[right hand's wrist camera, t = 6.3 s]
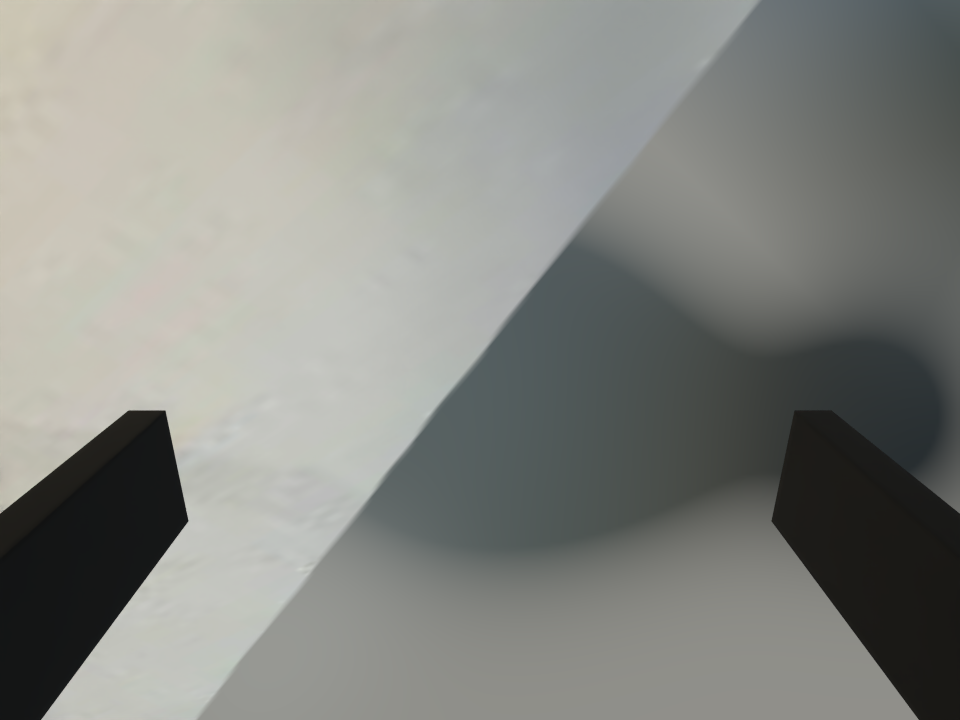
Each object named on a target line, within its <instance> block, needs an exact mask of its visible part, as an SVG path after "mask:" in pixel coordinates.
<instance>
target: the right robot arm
mask: <svg viewBox="0 0 960 720" xmlns="http://www.w3.org/2000/svg"><path fill="white" fill-rule="evenodd" d="M187 522H188V517H187V512H186V507H185V502H184V498H183V493H182V488H181V483H180V478H179V474H178V469H177V464H176V459H175V454H174V450H173V445H172V440H171V435H170V430H169V426H168V421H167V416H166V411H127V412H126V413H125V414H124V415H122V416H121V417H120V418H119V419H118V420H116V421H115V422H114V423H113V424H111V425H110V426H109V427H108V428H106V429H105V430H104V431H103V432H101V433H100V434H99V435H98V436H96V437H95V438H94V439H93V440H91V441H90V442H89V443H88V444H86V445H85V446H84V447H83V448H81V449H80V450H79V451H78V452H76V453H75V454H74V455H73V456H71V457H70V458H69V459H68V460H66V461H65V462H64V463H63V464H62V465H60V466H59V467H58V468H57V469H55V470H54V471H53V472H52V473H50V474H49V475H48V476H47V477H45V478H44V479H43V480H42V481H40V482H39V483H38V484H37V485H35V486H34V487H33V488H32V489H30V490H29V491H28V492H27V493H25V494H24V495H23V496H22V497H20V498H19V499H18V500H17V501H15V502H14V503H13V504H12V505H10V506H9V507H8V508H7V509H5V510H4V511H3V512H2V513H1V514H0V720H41V719H42V718H43V716H44V715H45V714H46V712H47V711H48V710H49V708H50V707H51V706H52V704H53V703H54V702H55V700H56V699H57V698H58V696H59V695H60V694H61V692H62V691H63V689H64V688H65V687H66V685H67V684H68V683H69V681H70V680H71V679H72V677H73V676H74V675H75V673H76V672H77V671H78V669H79V668H80V667H81V665H82V664H83V663H84V661H85V660H86V658H87V657H88V656H89V654H90V653H91V652H92V650H93V649H94V648H95V646H96V645H97V644H98V642H99V641H100V640H101V638H102V637H103V636H104V634H105V633H106V632H107V630H108V629H109V627H110V626H111V625H112V623H113V622H114V621H115V619H116V618H117V617H118V615H119V614H120V613H121V611H122V610H123V609H124V607H125V606H126V605H127V603H128V602H129V601H130V599H131V598H132V597H133V595H134V594H135V592H136V591H137V590H138V588H139V587H140V586H141V584H142V583H143V582H144V580H145V579H146V578H147V576H148V575H149V574H150V572H151V571H152V570H153V568H154V567H155V566H156V564H157V563H158V561H159V560H160V559H161V557H162V556H163V555H164V553H165V552H166V551H167V549H168V548H169V547H170V545H171V544H172V543H173V541H174V540H175V539H176V537H177V536H178V535H179V533H180V532H181V530H182V529H183V528H184V526H185V525H186V524H187ZM772 522H773V524H774V525H775V526H776V528H777V529H778V530H779V532H780V533H781V534H782V536H783V537H784V538H785V540H786V541H787V543H788V544H789V545H790V547H791V548H792V549H793V551H794V552H795V553H796V555H797V556H798V557H799V559H800V560H801V561H802V563H803V564H804V566H805V567H806V568H807V570H808V571H809V572H810V574H811V575H812V576H813V578H814V579H815V580H816V582H817V583H818V584H819V586H820V587H821V588H822V590H823V591H824V592H825V594H826V595H827V597H828V598H829V599H830V601H831V602H832V603H833V605H834V606H835V607H836V609H837V610H838V611H839V613H840V614H841V615H842V617H843V618H844V619H845V621H846V622H847V623H848V625H849V626H850V627H851V629H852V630H853V632H854V633H855V634H856V636H857V637H858V638H859V640H860V641H861V642H862V644H863V645H864V646H865V648H866V649H867V650H868V652H869V653H870V654H871V656H872V657H873V658H874V660H875V661H876V663H877V664H878V665H879V666H880V668H881V669H882V671H883V672H884V673H885V675H886V676H887V677H888V679H889V680H890V681H891V683H892V684H893V685H894V687H895V688H896V689H897V691H898V692H899V694H900V695H901V696H902V698H903V699H904V700H905V702H906V703H907V704H908V706H909V707H910V708H911V710H912V711H913V712H914V714H915V715H916V716H917V718H918V719H919V720H960V514H959V513H958V512H957V511H956V510H955V509H953V508H952V507H951V506H949V505H948V504H947V503H946V502H945V501H943V500H942V499H941V498H940V497H938V496H937V495H936V494H935V493H933V492H932V491H931V490H930V489H928V488H927V487H926V486H925V485H923V484H922V483H921V482H920V481H918V480H917V479H916V478H915V477H913V476H912V475H911V474H910V473H908V472H907V471H906V470H905V469H903V468H902V467H901V466H900V465H898V464H897V463H896V462H895V461H894V460H892V459H891V458H890V457H889V456H887V455H886V454H885V453H884V452H882V451H881V450H880V449H879V448H877V447H876V446H875V445H874V444H872V443H871V442H870V441H869V440H867V439H866V438H865V437H864V436H862V435H861V434H860V433H859V432H857V431H856V430H855V429H854V428H852V427H851V426H850V425H849V424H847V423H846V422H845V421H844V420H842V419H841V418H840V417H839V416H838V415H836V414H835V413H834V412H833V411H794V416H793V421H792V426H791V431H790V435H789V440H788V445H787V450H786V454H785V459H784V464H783V469H782V474H781V478H780V483H779V488H778V493H777V498H776V502H775V507H774V512H773V517H772Z"/></svg>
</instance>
